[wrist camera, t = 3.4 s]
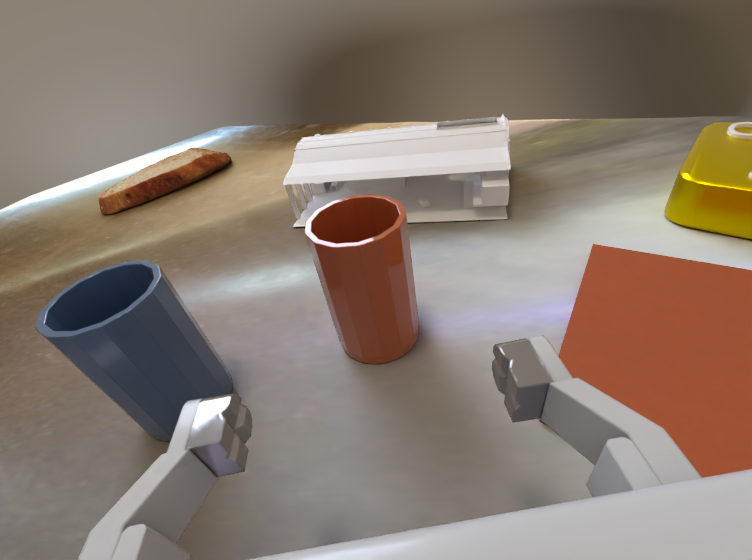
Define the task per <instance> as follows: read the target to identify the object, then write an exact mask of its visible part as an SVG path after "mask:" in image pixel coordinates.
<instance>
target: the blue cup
mask: <svg viewBox="0 0 752 560" xmlns="http://www.w3.org/2000/svg"><path fill="white" fill-rule="evenodd" d="M36 330H37V331H38V332H39V333H40V334H42V335H43V336H44V337H45V338H46V339H47V340H48V341H49V342H50V343H51V344H52V345H53V346H54V347H56V348H57V349H58V350H59V351H60V352H61V353H62V354H63V355H64V356H65V357H66V358H67V359H68V360H70V361H71V362H72V363H73V364H74V365H75V366H76V367H77V368H78V369H79V370H80V371H81V372H83V373H84V374H85V375H86V376H87V377H88V378H89V379H90V380H91V381H92V382H93V383H94V384H95V385H97V386H98V387H99V388H100V389H101V390H102V391H103V392H104V393H105V394H106V395H107V396H108V397H109V398H111V399H112V400H113V401H114V402H115V403H116V404H117V405H118V406H119V407H120V408H121V409H122V410H123V411H125V412H126V413H127V414H128V415H129V416H130V417H131V418H132V419H133V420H134V421H135V422H136V423H137V424H139V425H140V426H141V427H142V428H143V429H144V430H145V431H147V432H148V433H149V434H150V435H151V436H152V437H154V438H156V439H158V440H162V441H171V439H172V436H173V433H174V430H175V427H176V424H177V422H178V419H179V416H180V413H181V410H182V408H183V406H184V404H185V403H186V402H187V401H190V400H196V399H202V398H208V397H214V396H220V395H227V394H231V392H232V378H231V375H230V374H229V372H228V371H227V368H226V366H225V364H224V363H223V361H222V360H221V358H220V357H219V355H218V354H217V352H216V351H215V349H214V348H213V346H212V345H211V343H210V342H209V340H208V339H207V337H206V336H205V334H204V333H203V331H202V330H201V328H200V327H199V325H198V323H197V322H196V320H195V319H194V317H193V316H192V314H191V313H190V311H189V310H188V308H187V307H186V305H185V304H184V302H183V301H182V299H181V298H180V296H179V295H178V293H177V292H176V290H175V289H174V287H173V286H172V284H171V283H170V281H169V280H168V278H167V277H166V275H165V274H164V272H163V271H162V269H161V268H160V266H159V265H157V264H155V263H152V262H150V261H147V260H140V261H127V262H123V263H119V264H116V265H113V266H109V267H106V268H103V269H100V270H98V271H96V272H94V273H92V274H90V275H88V276H86V277H84V278H82V279H80V280H78V281H76V282H75V283H73V284H72V285H70V286H69V287H68V288H66V289H65V290H63V291H62V292H60V293H59V294H58V295H56V296H55V297H54V298H53V299H52V300H51V301H50V302H49V303H48V305H47V306H46V307H45V308H44V309H43V310H42V311H41V312H40V314H39V317H38V321H37V325H36Z"/></svg>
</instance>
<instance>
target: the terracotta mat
mask: <svg viewBox="0 0 752 560" xmlns="http://www.w3.org/2000/svg"><path fill="white" fill-rule="evenodd" d="M559 358H560V359H561V361H562V362H563V364H564V365H565V367H566V368H567V370H568V371H569V373H570V374H571V376H572V377H573V378H579V379H581V380H583V381H584V382H586V383H588V384H590V385H591V386H593V387H595V388H596V389H598V390H600V391H601V392H603V393H605V394H606V395H608V396H610V397H611V398H613V399H615V400H617V401H618V402H620V403H622V404H623V405H625V406H627V407H628V408H630V409H632V410H633V411H635V412H637V413H639V414H640V415H642V416H644V417H645V418H647V419H649V420H650V421H652V422H654V423H655V424H657V425H659V426H660V427H662V428H664V429H665V431H666V432H667V433H668V435H669V436H670V437H671V438H672V440H673V441H674V442H675V444H676V445H677V446H678V447H679V449H680V450H681V451H682V453H683V454H684V455H685V456H686V458H687V459H688V460H689V462H690V463H691V464H692V465H693V467H694V468H695V469H696V471H697V472H698V473H699V474H700V476H701V477H702V478H704V477H710V476H715V475H721V474H727V473H732V472H738V471H743V470H749V469H752V270H747V269H741V268H734V267H728V266H722V265H716V264H710V263H704V262H698V261H692V260H686V259H680V258H674V257H668V256H662V255H656V254H650V253H644V252H638V251H632V250H626V249H619V248H613V247H607V246H601V245H595V244H593V246H592V249H591V253H590V256H589V259H588V263H587V266H586V269H585V272H584V276H583V279H582V282H581V285H580V289H579V292H578V295H577V298H576V302H575V305H574V308H573V311H572V315H571V318H570V321H569V324H568V328H567V331H566V334H565V337H564V341H563V344H562V347H561V350H560V354H559ZM539 421H540V422H543V421H542V420H541V418H540V419H539ZM543 423H544V422H543Z"/></svg>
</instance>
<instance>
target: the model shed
mask: <svg viewBox="0 0 752 560" xmlns="http://www.w3.org/2000/svg"><path fill="white" fill-rule="evenodd" d="M297 143H298V144H297V146H296V148H295V149H294V150H293V151H294V152H295V153H294V159H293V164H292V166H291V168H290V170H289V171H288V173H287V175H286V177H285V179H284V182H283V185H285V187H286V190H287V193H288V196H289V199H290V202H291V205H292V208H293V211H294V214H295V217H296V219H298V220H297V221H296V223H295V224H294V226H293V227H305V225H306V221H307V220H308V219H309V218H310V217H311V216H312V214H313V213H314V212H315V211H316V210H318V209H320V208H322V207H323V206H325V205H327V204H329V203H330V202H333V201H336V200H339V199H343V198H346V197H349V196H355V195H366V194H376V195H383V196H389V197H392V198H394V199H395V200H397V201H399V202H401V203H402V204H403V206H404V209H405V212H406V215H407V223H413V222H439V221H466V220H493V219H508V218H507V212H506V205H508V199H509V187H510V185H509V180H508V178H509V170H511V165H510V157H509V150H510V138H509V123H508V120H507V118H506V117H504V115H502V116H501V117H500V118H497V117H488V118H479V119H470V120H467V119H465V120H459V121H445V122H439V123H437V124H430V125H420V126H413V125H408V127H400V128H391V127H387V128H386V129H380V130H372V129H367V131H360V132H353V131H349V132H348V133H340V134H330V135H320V134H316V135H315V136H313V137H303V138H302V139H301V141H300V142H297ZM308 183H310V186H311V189H312V193H313V194H314V196H313V197H312V196H311V192H310V189H309V185H308ZM291 184H295V186H296V189H297V192H298V195H299V199H300V202H301V205H302V208H303V209H304V211H303V212H302V214H301V215H300V212H299V209H298V206H297V203H296V200H295V197H294V193H293V190H292V187H291ZM301 184H303V186H304V189H305V193H306V196H307V199H308V201H310V202H309V203H308V205H307V204H306V201H305V197H304V194H303V191H302V187H301Z"/></svg>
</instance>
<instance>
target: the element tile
mask: <svg viewBox="0 0 752 560" xmlns="http://www.w3.org/2000/svg"><path fill="white" fill-rule="evenodd" d="M665 215H666V217H667V218H668V219H669V220H671V221H672V222H674V223H677V224H679V225H682V226H686V227H690V228H695V229H700V230H705V231H710V232H715V233H720V234H726V235H731V236H736V237H741V238H746V239H751V240H752V122H740V123H733V122H716V123H713V124H711V125H709V126H707V127H705V128H703V130H702V131H701V133H700V135H699V137H698V139H697V140H696V142H695V144H694V146H693V148H692V149H691V151H690V153H689V155H688V157H687V158H686V160H685V162H684V164H683V165H682V167H681V169H680V171H679V173H678V176H677V178H676V181H675V183H674V186H673V189H672V191H671V194H670V196H669V199H668V202H667V204H666V207H665Z"/></svg>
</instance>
